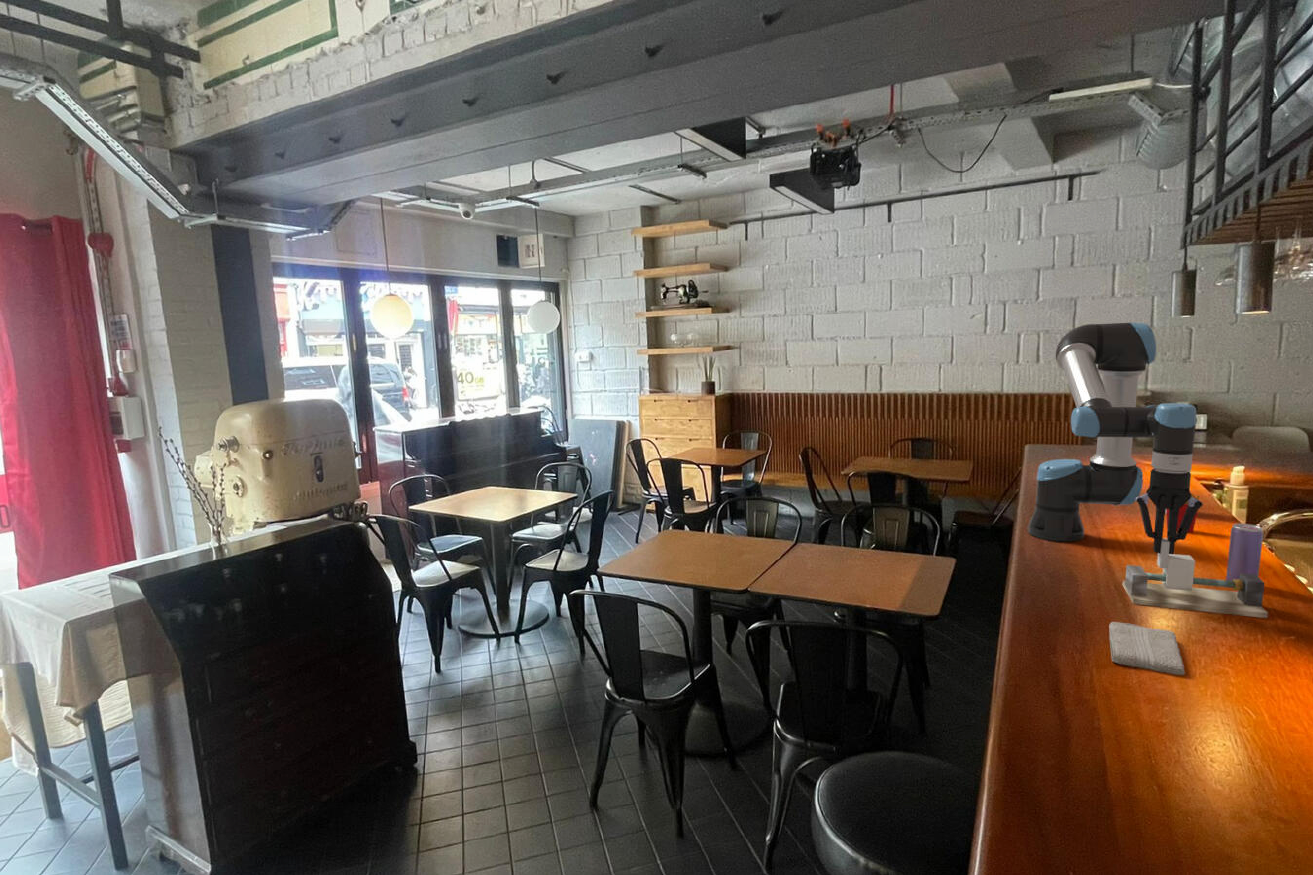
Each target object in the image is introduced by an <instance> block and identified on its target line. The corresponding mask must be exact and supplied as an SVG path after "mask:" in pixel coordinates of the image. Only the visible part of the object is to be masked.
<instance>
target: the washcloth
mask: <svg viewBox="0 0 1313 875" xmlns="http://www.w3.org/2000/svg"><path fill="white" fill-rule="evenodd" d="M1108 628H1109V631H1108V632H1109V633H1108V634H1109V635H1108V637H1109V638H1108V639H1109V646H1110V655H1111V662H1113V663H1116V664H1118V665H1122V666H1123V665H1124V666H1129V667H1133V668H1134V667H1136V668H1141V669H1145V670H1151V671H1155V672H1159V673H1165V672H1166V673H1167V674H1173V675H1175V676H1176V675H1177V676H1184V675H1185V674H1186V673H1185V666H1184V663H1183V659H1182V656H1181V653H1180V652H1181V650H1180V648H1179V645H1178V641H1177V637H1176V633H1175V632H1173V631H1171V630H1169V629H1161V628H1151V627H1150V628H1149V627H1143V626H1141V625H1137V624H1132V623H1125V622H1118V621H1111V622H1110V623H1109V625H1108Z"/></svg>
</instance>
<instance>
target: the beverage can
mask: <svg viewBox="0 0 1313 875" xmlns="http://www.w3.org/2000/svg"><path fill="white" fill-rule="evenodd" d="M1263 530H1264V528H1263V527H1261V526H1259V525H1256V524H1249V523H1234V524H1232V528H1231V530H1230V539H1229V540H1230V541H1229V547H1228V548H1229V549H1228V559H1227V567H1226V574H1225V575H1226V576H1225V580H1227V581H1233V579H1239V576H1240V574H1251V575H1257V576H1258V577H1259V574H1260V566H1261V565H1260V564H1261V556H1262V549H1263V539H1264V532H1263Z"/></svg>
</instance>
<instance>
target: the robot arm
mask: <svg viewBox="0 0 1313 875" xmlns="http://www.w3.org/2000/svg"><path fill="white" fill-rule="evenodd" d="M1156 342H1157V341H1156V337H1155V334H1154V331H1153V329H1152V327H1151V326H1150V325H1148V324H1147V323H1143V322H1115V323H1114V322H1113V323H1111V322H1110V323H1089V324H1088V323H1087V324H1083V325H1080V326H1076V327H1075V328H1073V329H1071V330H1070V331H1069V332H1067V333H1066V334H1065V335H1064V336H1063V337H1061V340H1059V342H1058V344H1057V346H1056V351H1055V359H1056V363H1057V365H1058V367H1059V368H1060V369H1061V370H1062V371H1064V374H1065V377H1066V379H1067V383H1068V385H1069V386H1068V387H1069V389H1070V393H1071V396H1072V398H1073V401H1074V404H1075V407H1074V409H1072V412H1071V416H1070V425H1071V432H1072V433H1073V435H1075V436H1076V437H1087V438H1088V437H1089V438H1097V440H1096V441H1097V444H1096V453H1095V454H1094V455H1092V456H1091V457H1090V459H1089V464H1088V465H1087V464H1086V465H1085V464H1083V463H1082V462H1083V461H1082V460H1079V459H1074V458H1072V459H1071V458H1058V459H1051V460H1047V461H1044V462H1042V463H1040V464H1039V466H1038V469H1037V475H1036V492H1035V493H1036V497H1035V498H1036V499H1035V509H1034V512H1033V514H1032V516H1031V518H1030V520H1029V523H1028V524H1027V526H1028V527H1027V531H1028V534H1030V535H1031V536H1033V537H1036V538H1038V539H1042V540H1047V541H1051V542H1052V541H1053V542H1065V543H1066V542H1078V541H1081V540H1084V539H1085V527H1084V525H1083V521H1082V519H1081V515H1080V504H1092V505H1093V504H1096V505H1112V506H1122V505H1123V506H1126V505H1127V506H1129V505H1132V504H1134V503H1135V502H1136V503H1137V504H1138V506H1139V509H1140V513H1141V518H1142V525H1143V527H1144V533H1145V534H1146V536H1147V537H1148V538H1152V539H1153V547H1152V548H1153V551H1154V553H1155V554H1157V560H1156V564H1157V566H1158V567H1159V568H1160V569H1163V568H1167V567H1168V556H1169V554H1175V545H1176V543H1177V541H1180V540H1182V541H1184V540H1185V539H1186V538H1187V535H1188V531H1189V528H1190V526H1191V523H1192V521H1193V519H1194V516H1195V514H1196V511H1197V510H1198V511H1199V509H1200V508H1202V506H1203V502H1202V501H1200V499H1199V500H1198V499H1195V498H1193V497H1191V496H1192V495H1191V494H1192V492H1191V491H1190V486H1191V476H1192V474H1191V471H1192V468H1193V467H1192V466H1193V455H1194V454H1193V453H1194V444H1195V434H1196V426H1197V425H1196V424H1197V423H1198V419H1197V408H1196V407H1195V406H1194V405H1193V404H1190V403H1189V404H1188V403H1187V404H1186V403H1178V402H1177V403H1176V402H1175V403H1173V402H1167V403H1166V402H1165V403H1160V404H1158V405H1155V404H1154V405H1153V404H1151V405H1147V406H1136V405H1137V397H1138V384H1139V377H1140V375H1142V374H1143V373H1145V372H1146V369H1147V368H1146V367H1147V365H1150V364H1152V363H1154V361H1155V359H1156V355H1157V343H1156ZM1100 374H1101V375H1102V377H1101V375H1100ZM1133 438H1138V439H1139V438H1140V439H1143V438H1145V439H1146V438H1147V439H1150V438H1151V439H1153V444H1152V452H1151V453H1152V455H1151V464H1150V466H1151V467H1152V469H1151V470H1150V477H1149V478H1150V479H1149V487H1148V488H1147V489H1146V493H1144V494H1142V495H1141V492H1142V488H1143V486H1144V484H1143V483H1144V482H1143V481H1144V479H1143V478H1144V477H1143V476H1144V474H1143V470H1142V468H1141V467H1139V466H1137V461H1136V460H1135V459H1134V458H1133V457H1132V449H1133V448H1132V447H1133ZM1189 470H1190V472H1188V471H1189ZM1149 500H1150V501H1151V502H1152V504H1153V505H1154V506H1155V519H1154V529H1153V525H1152V522H1151V521H1152V520H1151V517H1150V511H1149V507H1148V506H1147V505H1148V504H1149ZM1187 501H1188V505H1189V506H1188V507H1187V509H1186V512H1185V514H1184V517H1183V519H1182V522H1181V524H1180V526H1179V529H1178V531H1177V521H1178V514H1179V508H1181V507H1182V506H1183V505H1184V504H1185V503H1186V502H1187ZM1166 509H1169V519H1168V529H1167V532H1166V538H1164V525H1165V516H1166V513H1165V512H1166ZM1153 530H1154V531H1153Z"/></svg>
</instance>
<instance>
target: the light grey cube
mask: <svg viewBox="0 0 1313 875" xmlns="http://www.w3.org/2000/svg"><path fill="white" fill-rule="evenodd" d="M1195 564H1196V560H1195V559H1194V558H1193V557H1192V556H1191V555H1188V554H1187V555H1186V554H1175V553H1173V554H1169V556H1168V567H1167V568H1162V575H1166V582H1165V581H1161V584H1162V585H1164V586H1165V588H1166V589H1174V590H1185V591H1192V588H1194V584H1193V578H1195V575H1194V574H1195V566H1196V565H1195Z"/></svg>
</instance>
